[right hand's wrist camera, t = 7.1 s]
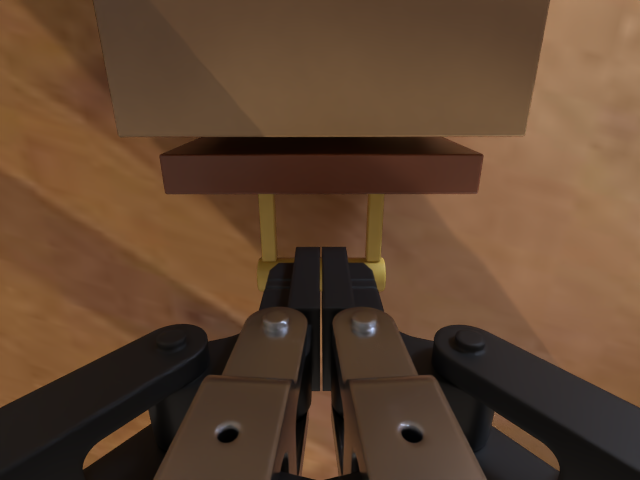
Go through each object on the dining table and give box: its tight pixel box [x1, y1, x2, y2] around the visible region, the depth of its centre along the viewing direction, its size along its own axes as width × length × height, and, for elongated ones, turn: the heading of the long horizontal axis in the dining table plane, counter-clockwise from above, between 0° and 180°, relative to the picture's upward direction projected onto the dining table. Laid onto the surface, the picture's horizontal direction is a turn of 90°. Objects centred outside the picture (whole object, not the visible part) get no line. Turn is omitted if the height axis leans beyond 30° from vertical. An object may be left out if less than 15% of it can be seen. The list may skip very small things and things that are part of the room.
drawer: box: [160, 137, 483, 291], centre depth 14 cm, size 22×9×8 cm, turn 0°
